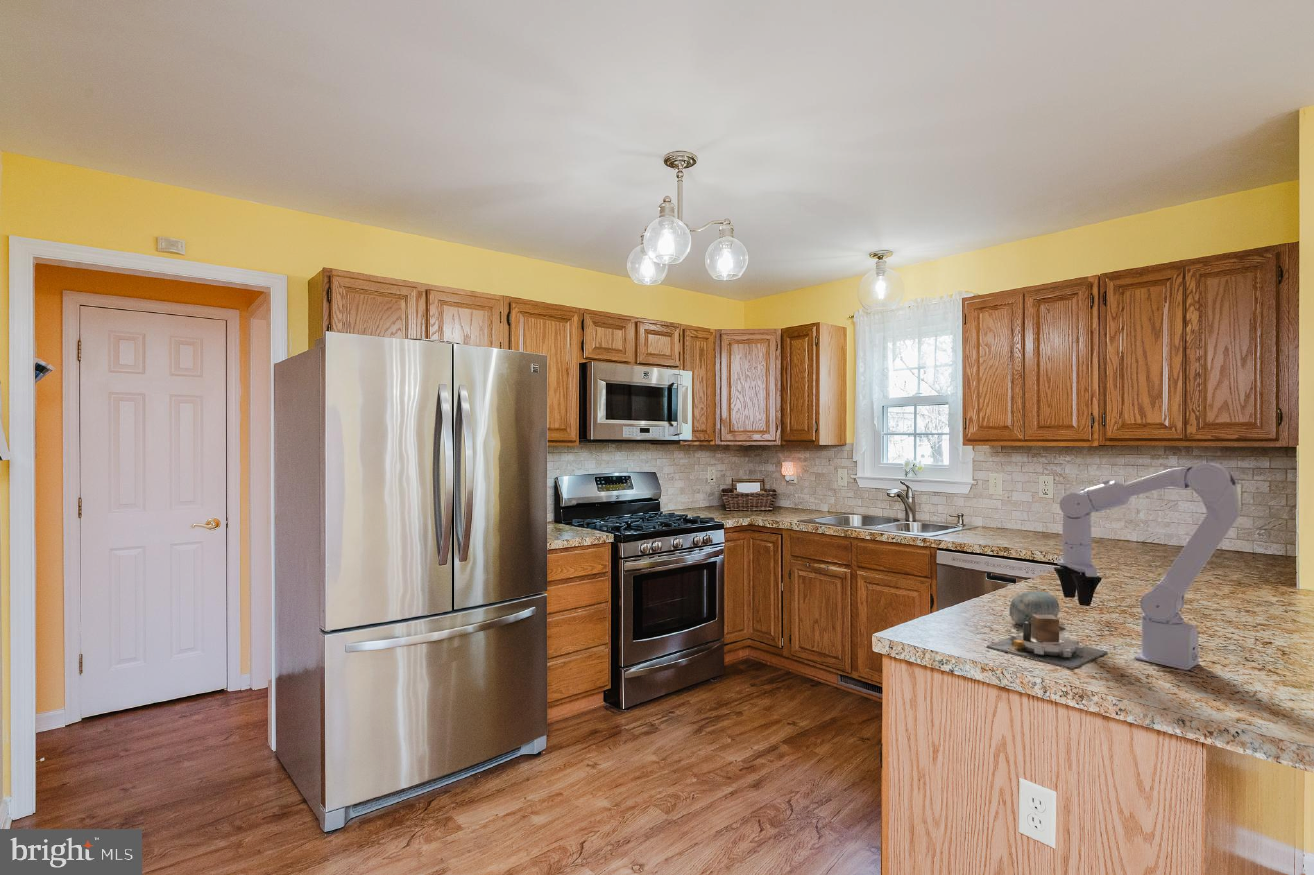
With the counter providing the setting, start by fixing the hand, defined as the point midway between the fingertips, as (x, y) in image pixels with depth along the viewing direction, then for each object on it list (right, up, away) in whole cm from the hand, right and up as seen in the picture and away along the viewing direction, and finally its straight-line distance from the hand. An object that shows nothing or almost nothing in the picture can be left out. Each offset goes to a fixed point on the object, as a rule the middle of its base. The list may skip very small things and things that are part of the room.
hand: (1076, 601), depth 155 cm
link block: (-10, -7, -5) cm, 14 cm away
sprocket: (-10, -10, -5) cm, 15 cm away
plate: (-10, -10, -5) cm, 15 cm away
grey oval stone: (0, -10, +17) cm, 20 cm away
